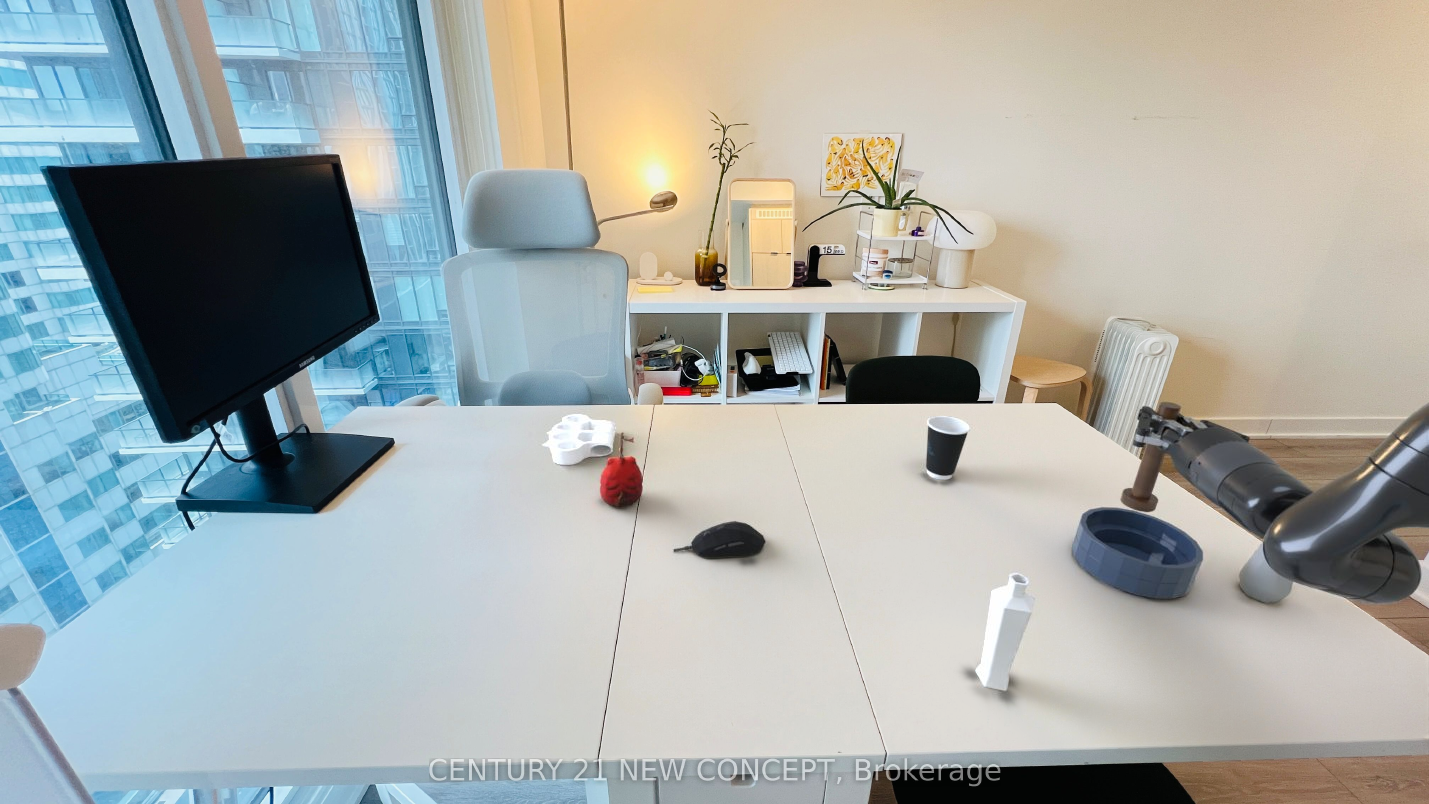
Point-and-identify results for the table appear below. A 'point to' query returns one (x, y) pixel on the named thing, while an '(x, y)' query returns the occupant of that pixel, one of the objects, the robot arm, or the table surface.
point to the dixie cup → (944, 445)
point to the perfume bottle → (1004, 631)
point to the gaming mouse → (727, 541)
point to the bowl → (1137, 552)
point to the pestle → (1149, 469)
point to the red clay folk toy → (621, 480)
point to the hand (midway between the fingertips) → (1154, 413)
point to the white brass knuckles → (580, 439)
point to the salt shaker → (1263, 579)
